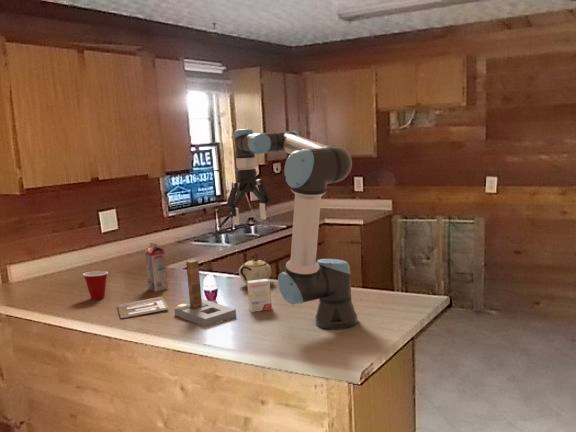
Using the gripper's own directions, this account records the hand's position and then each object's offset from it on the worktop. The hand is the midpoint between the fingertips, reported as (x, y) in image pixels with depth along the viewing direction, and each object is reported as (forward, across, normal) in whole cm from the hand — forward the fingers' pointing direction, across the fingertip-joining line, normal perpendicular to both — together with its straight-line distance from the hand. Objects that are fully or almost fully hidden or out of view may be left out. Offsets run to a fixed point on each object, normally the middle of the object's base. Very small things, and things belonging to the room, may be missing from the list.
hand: (250, 221), depth 228 cm
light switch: (+35, +32, -36) cm, 60 cm away
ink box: (+35, +2, +5) cm, 35 cm away
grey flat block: (+35, +21, -6) cm, 41 cm away
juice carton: (+35, +12, -59) cm, 70 cm away
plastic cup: (+35, +37, -69) cm, 86 cm away
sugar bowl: (+35, -20, -25) cm, 47 cm away
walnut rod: (+31, +21, -12) cm, 40 cm away
